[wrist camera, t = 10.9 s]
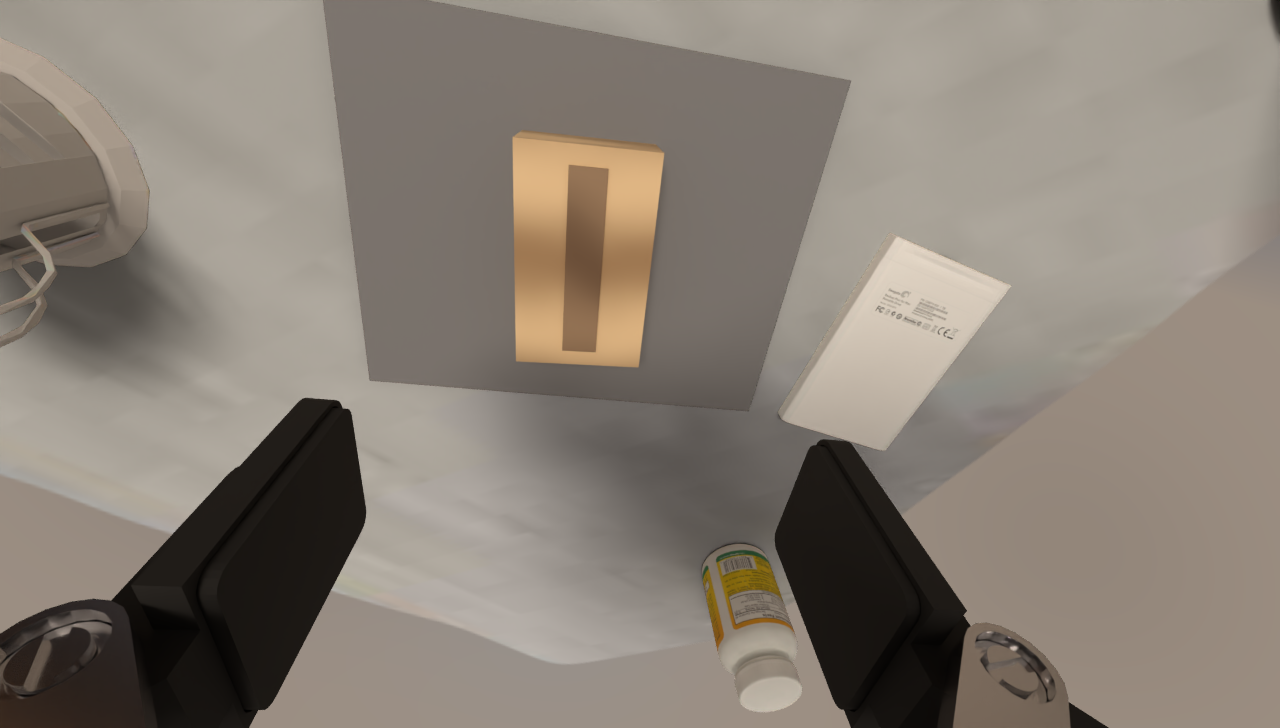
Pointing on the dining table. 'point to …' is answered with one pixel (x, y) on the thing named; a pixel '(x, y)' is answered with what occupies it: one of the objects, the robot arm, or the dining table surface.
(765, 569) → the supplement bottle
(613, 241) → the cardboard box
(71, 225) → the french press
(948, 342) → the external hard drive
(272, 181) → the dining table surface
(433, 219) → the rubber mat
